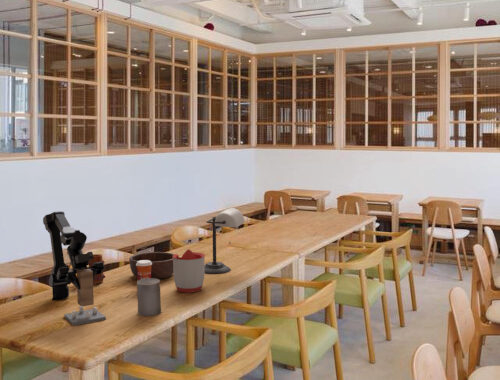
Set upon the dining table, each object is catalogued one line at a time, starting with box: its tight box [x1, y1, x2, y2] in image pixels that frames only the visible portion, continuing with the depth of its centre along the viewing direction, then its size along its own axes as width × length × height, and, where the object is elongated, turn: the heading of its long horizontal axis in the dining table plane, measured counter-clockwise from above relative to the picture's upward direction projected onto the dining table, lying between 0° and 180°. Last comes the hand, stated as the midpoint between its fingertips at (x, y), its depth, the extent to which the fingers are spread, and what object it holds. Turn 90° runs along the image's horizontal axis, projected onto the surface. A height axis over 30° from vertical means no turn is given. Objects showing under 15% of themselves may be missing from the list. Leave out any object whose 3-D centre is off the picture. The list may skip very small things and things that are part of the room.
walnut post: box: [76, 269, 95, 308], centre depth 233 cm, size 5×5×14 cm
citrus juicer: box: [172, 248, 206, 294], centre depth 275 cm, size 16×17×20 cm
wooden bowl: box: [128, 251, 175, 280], centre depth 302 cm, size 25×25×10 cm
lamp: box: [204, 207, 246, 275], centre depth 311 cm, size 26×24×34 cm
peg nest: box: [64, 305, 107, 326], centre depth 234 cm, size 13×13×4 cm
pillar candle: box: [136, 278, 162, 317], centre depth 240 cm, size 10×10×15 cm
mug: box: [87, 253, 106, 285], centre depth 288 cm, size 15×8×15 cm, turn 92°
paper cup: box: [136, 260, 152, 281], centre depth 274 cm, size 8×8×14 cm
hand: (86, 288), depth 232 cm, fingers closed on walnut post, 5 cm apart
